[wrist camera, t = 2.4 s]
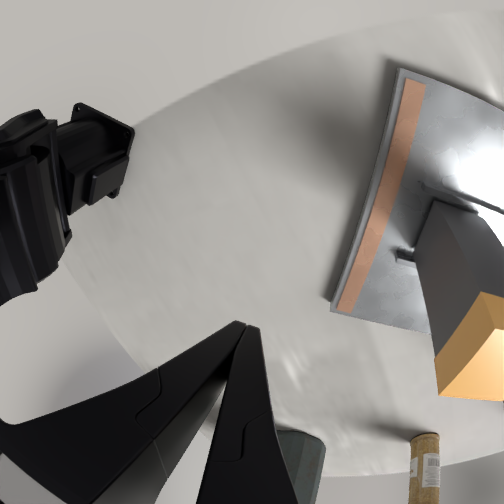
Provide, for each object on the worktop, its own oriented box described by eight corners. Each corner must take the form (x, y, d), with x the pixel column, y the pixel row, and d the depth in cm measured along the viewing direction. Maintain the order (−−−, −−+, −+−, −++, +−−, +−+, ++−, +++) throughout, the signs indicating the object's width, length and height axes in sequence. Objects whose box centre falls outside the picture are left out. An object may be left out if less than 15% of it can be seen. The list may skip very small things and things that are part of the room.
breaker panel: (330, 302, 25) (327, 329, 22) (397, 67, 14) (407, 67, 12) (500, 340, 22) (507, 364, 19) (591, 170, 12) (612, 185, 9)
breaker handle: (411, 253, 19) (438, 395, 10) (433, 198, 17) (495, 328, 8) (460, 268, 18) (503, 401, 10) (484, 217, 16) (557, 342, 7)
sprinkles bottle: (404, 440, 34) (397, 525, 24) (431, 429, 32) (429, 519, 21) (419, 447, 35) (414, 526, 24) (445, 437, 32) (444, 520, 22)
